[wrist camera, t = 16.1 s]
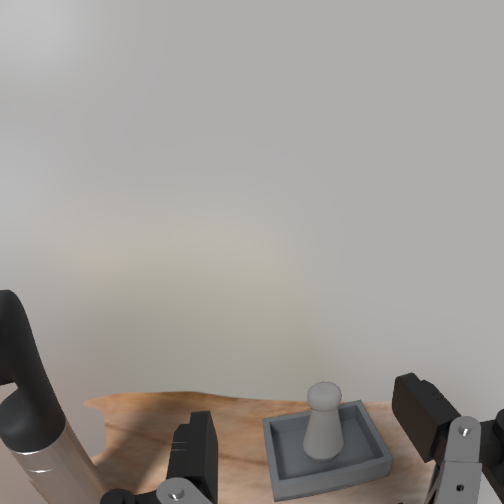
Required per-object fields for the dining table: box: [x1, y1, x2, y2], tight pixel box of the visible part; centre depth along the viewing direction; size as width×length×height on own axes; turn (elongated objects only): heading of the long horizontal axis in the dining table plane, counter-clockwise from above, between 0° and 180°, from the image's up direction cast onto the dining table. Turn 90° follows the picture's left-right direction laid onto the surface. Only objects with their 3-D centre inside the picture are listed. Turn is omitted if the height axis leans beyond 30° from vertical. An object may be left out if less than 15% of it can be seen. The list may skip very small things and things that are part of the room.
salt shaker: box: [303, 382, 344, 463], centre depth 38 cm, size 6×6×13 cm
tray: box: [262, 400, 393, 502], centre depth 39 cm, size 16×14×4 cm
